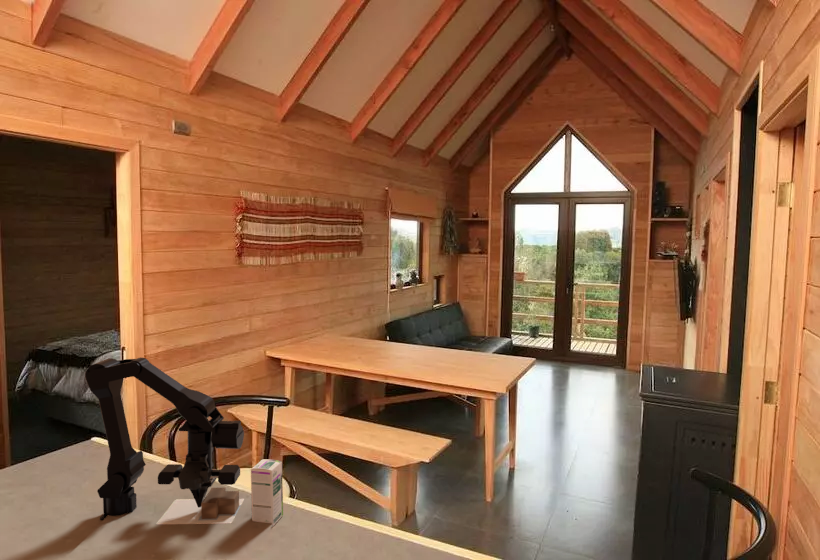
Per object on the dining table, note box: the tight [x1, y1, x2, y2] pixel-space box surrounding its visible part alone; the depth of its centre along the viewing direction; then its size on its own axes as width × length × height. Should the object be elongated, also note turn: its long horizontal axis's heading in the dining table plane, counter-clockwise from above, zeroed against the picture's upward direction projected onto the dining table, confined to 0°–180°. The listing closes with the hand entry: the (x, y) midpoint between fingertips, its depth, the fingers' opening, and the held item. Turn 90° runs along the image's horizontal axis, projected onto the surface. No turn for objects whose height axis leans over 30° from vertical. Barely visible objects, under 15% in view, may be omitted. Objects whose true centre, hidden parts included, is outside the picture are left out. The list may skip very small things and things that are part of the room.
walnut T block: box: [201, 487, 240, 519], centre depth 133 cm, size 8×8×4 cm
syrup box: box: [250, 459, 284, 528], centre depth 130 cm, size 6×6×14 cm
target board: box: [155, 498, 245, 525], centre depth 132 cm, size 18×12×1 cm, turn 93°
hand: (200, 506), depth 132 cm, fingers closed
